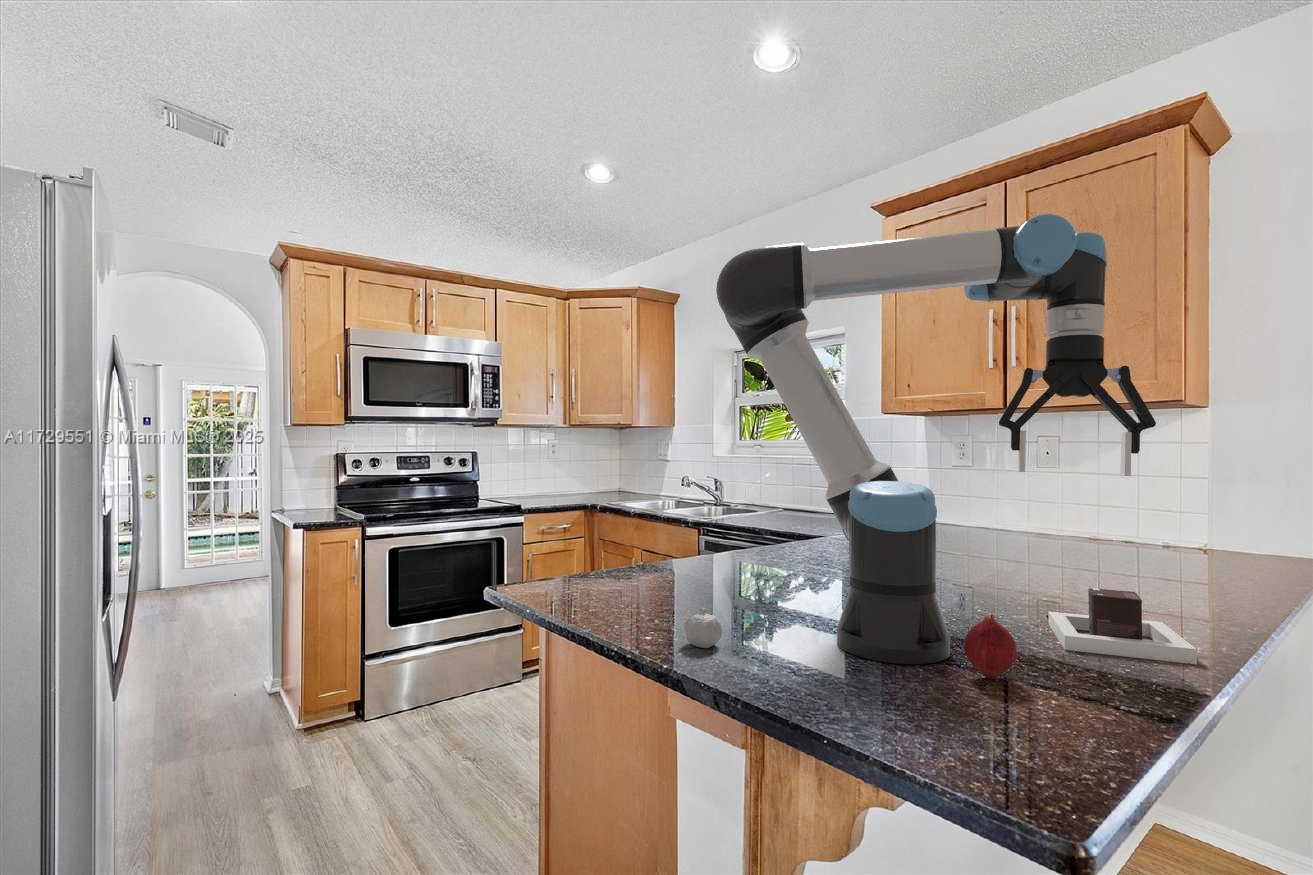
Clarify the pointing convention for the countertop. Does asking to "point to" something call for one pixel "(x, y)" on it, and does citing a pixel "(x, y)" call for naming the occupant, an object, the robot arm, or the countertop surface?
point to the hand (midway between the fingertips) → (1072, 474)
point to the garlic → (703, 629)
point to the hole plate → (1122, 640)
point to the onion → (990, 647)
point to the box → (1115, 613)
